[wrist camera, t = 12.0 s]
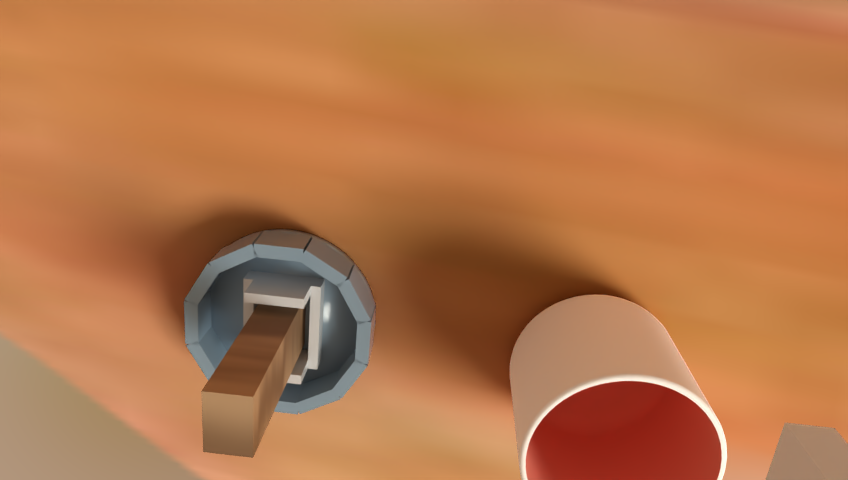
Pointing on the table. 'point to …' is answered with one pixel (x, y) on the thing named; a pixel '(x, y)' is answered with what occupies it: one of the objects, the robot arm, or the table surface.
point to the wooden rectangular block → (251, 380)
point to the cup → (609, 398)
